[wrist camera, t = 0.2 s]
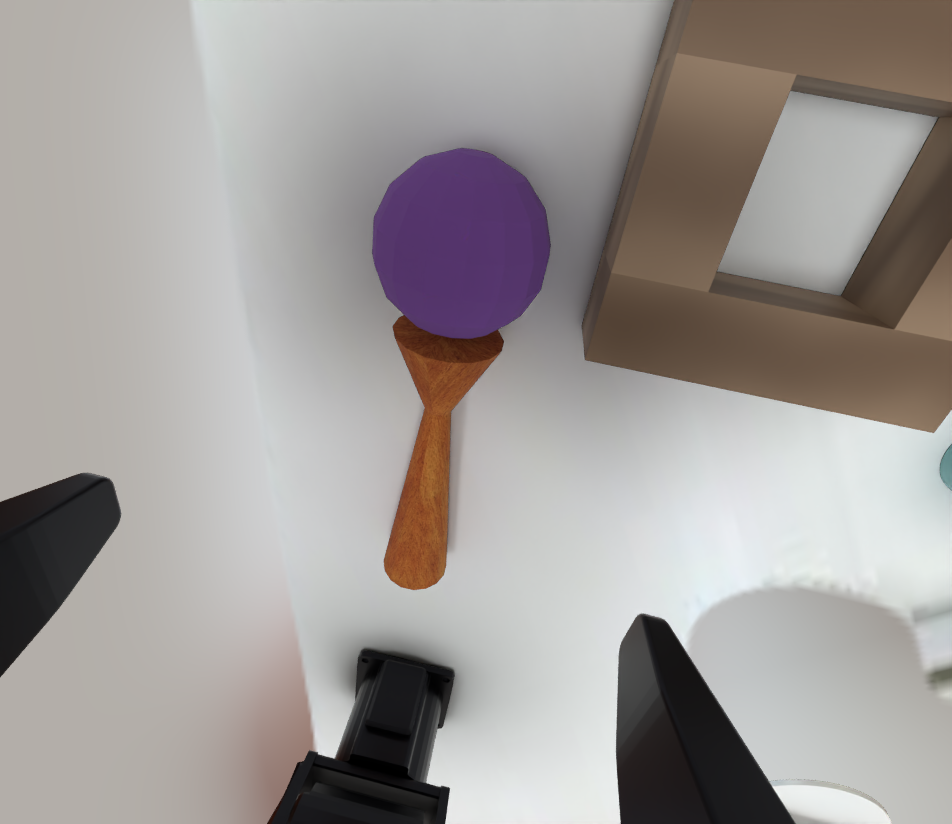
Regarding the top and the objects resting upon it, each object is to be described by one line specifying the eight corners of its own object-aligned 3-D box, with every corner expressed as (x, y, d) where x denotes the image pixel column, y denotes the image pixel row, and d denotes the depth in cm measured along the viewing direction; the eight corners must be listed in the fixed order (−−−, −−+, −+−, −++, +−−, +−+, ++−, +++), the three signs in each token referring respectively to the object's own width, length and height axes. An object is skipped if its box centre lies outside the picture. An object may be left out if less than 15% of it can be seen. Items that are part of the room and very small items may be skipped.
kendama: (335, 583, 25) (336, 138, 14) (391, 506, 30) (428, 126, 18) (444, 632, 24) (545, 192, 13) (485, 543, 29) (586, 164, 17)
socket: (878, 386, 20) (934, 433, 17) (581, 325, 21) (585, 360, 18) (1122, 10, 14) (1275, -21, 11) (692, -63, 15) (725, -111, 12)
